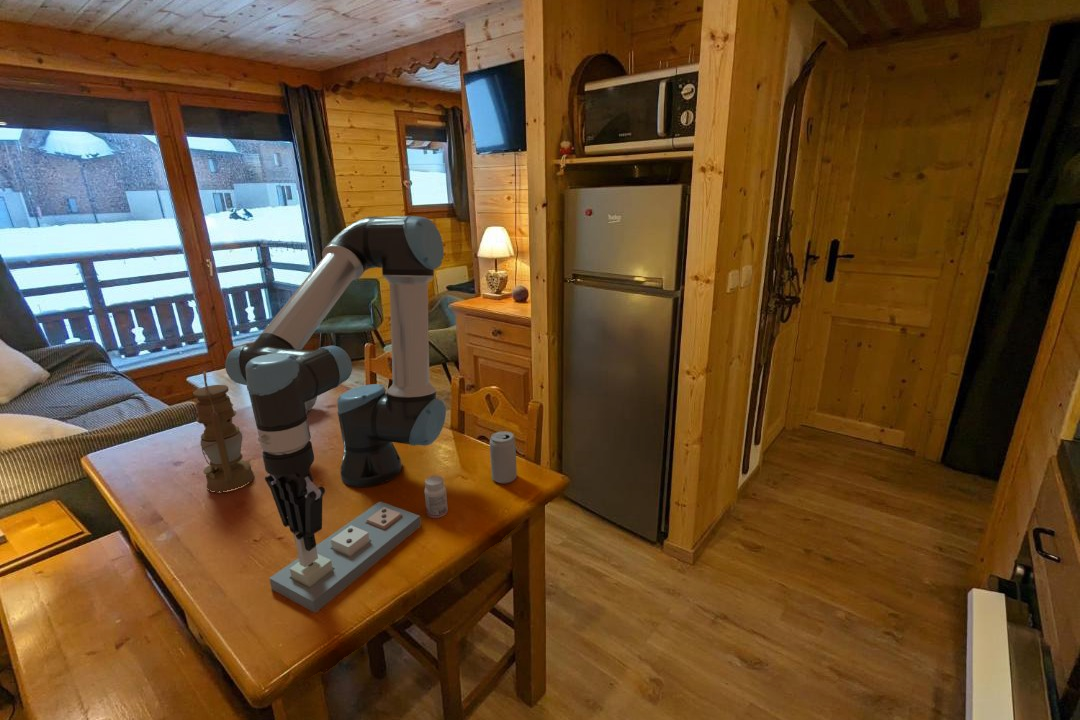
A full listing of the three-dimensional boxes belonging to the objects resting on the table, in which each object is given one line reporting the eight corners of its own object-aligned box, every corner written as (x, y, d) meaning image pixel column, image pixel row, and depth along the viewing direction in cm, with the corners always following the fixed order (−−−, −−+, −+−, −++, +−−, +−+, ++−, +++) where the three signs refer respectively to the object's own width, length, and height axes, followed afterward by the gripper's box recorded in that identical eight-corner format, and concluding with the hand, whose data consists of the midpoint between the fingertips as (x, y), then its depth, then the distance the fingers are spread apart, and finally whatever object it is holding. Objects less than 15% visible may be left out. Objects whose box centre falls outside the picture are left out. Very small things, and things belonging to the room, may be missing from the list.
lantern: (196, 481, 127) (167, 371, 118) (239, 464, 135) (215, 360, 125) (221, 501, 118) (191, 384, 109) (265, 482, 126) (241, 371, 117)
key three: (385, 537, 103) (383, 525, 102) (368, 530, 106) (366, 518, 105) (402, 523, 107) (400, 512, 107) (385, 517, 110) (383, 506, 109)
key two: (350, 558, 95) (348, 546, 95) (332, 550, 98) (330, 538, 97) (370, 543, 100) (368, 531, 99) (352, 536, 102) (350, 524, 101)
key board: (315, 613, 85) (312, 601, 84) (271, 589, 91) (269, 578, 90) (421, 525, 108) (419, 515, 107) (381, 510, 113) (379, 501, 112)
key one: (310, 589, 88) (307, 576, 87) (292, 580, 90) (289, 567, 89) (333, 572, 92) (330, 559, 91) (315, 563, 94) (313, 550, 93)
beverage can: (513, 486, 122) (511, 442, 118) (488, 484, 123) (486, 440, 119) (519, 473, 128) (518, 431, 124) (495, 470, 129) (493, 429, 125)
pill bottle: (428, 506, 114) (424, 474, 112) (448, 505, 115) (446, 473, 112) (425, 519, 110) (421, 486, 107) (447, 517, 110) (444, 485, 108)
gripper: (241, 446, 83) (267, 562, 90) (291, 464, 77) (315, 587, 84) (282, 429, 89) (303, 539, 96) (331, 444, 83) (350, 560, 90)
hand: (309, 561), depth 90 cm, fingers closed
